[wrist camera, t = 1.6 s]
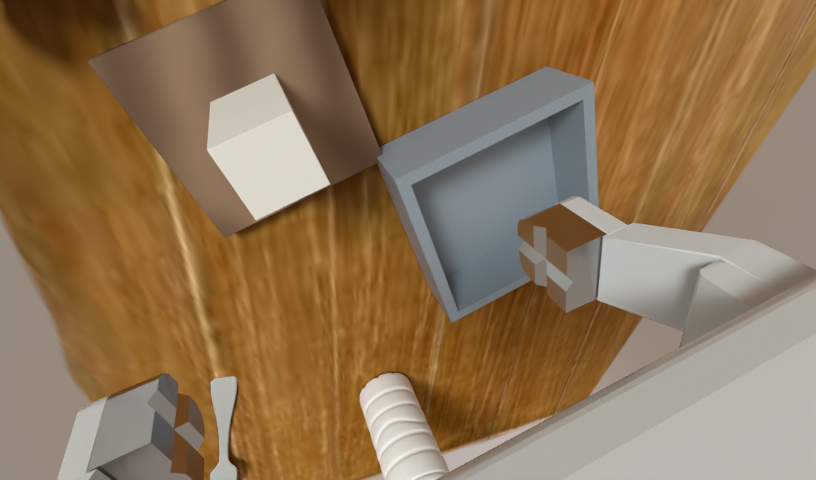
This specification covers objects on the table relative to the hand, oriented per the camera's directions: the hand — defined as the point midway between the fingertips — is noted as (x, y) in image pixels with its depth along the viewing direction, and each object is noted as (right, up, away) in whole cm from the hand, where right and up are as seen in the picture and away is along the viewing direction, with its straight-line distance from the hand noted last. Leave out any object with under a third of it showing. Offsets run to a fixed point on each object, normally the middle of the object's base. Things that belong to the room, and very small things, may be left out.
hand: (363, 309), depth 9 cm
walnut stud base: (-10, +11, +21) cm, 26 cm away
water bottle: (-2, -18, +44) cm, 47 cm away
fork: (-20, -21, +38) cm, 48 cm away
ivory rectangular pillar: (-9, +10, +20) cm, 24 cm away
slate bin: (+8, +7, +32) cm, 34 cm away
